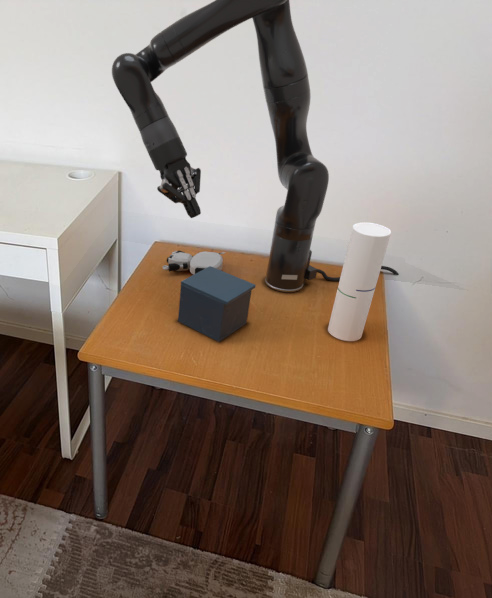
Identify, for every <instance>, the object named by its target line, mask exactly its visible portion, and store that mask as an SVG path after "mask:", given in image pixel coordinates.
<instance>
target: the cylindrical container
mask: <svg viewBox="0 0 492 598" xmlns="http://www.w3.org/2000/svg"><path fill="white" fill-rule="evenodd" d="M391 234H392V231H391V228H389V227H387V226H385V225H382V224H380V223H376V222H369V221H368V222H367V221H365V222H364V221H363V222H362V221H361V222H356V223H354V224H353V225H352V228H351V231H350V236H349V241H348V244H347V248H346V251H345V252H346V253H345V257H344V261H343V265H342V269H341V273H340V276H339V277H340V281H338V284H337V285H338V286H337V290H336V294H335V298H334V301H333V306H332V309H331V314H330V318H329V323H328V326H327V332H328V333H329V334H330V335H331V336H332V337H333V338H336V339H338V340H341V341H345V342H356V341H359V340H360V339H361V338H362V336H363V333H364V330H365V326H366V322H367V319H368V316H369V312H370V308H371V304H372V302H373V298H374V295H375V291H376V287H377V285H378V284H377V283H378V280H379V276H380V273H381V270H382V269H381V266H383V262H384V259H385V255H386V253H387V252H386V251H387V248H388V244H389V242H390V237H391Z"/></svg>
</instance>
